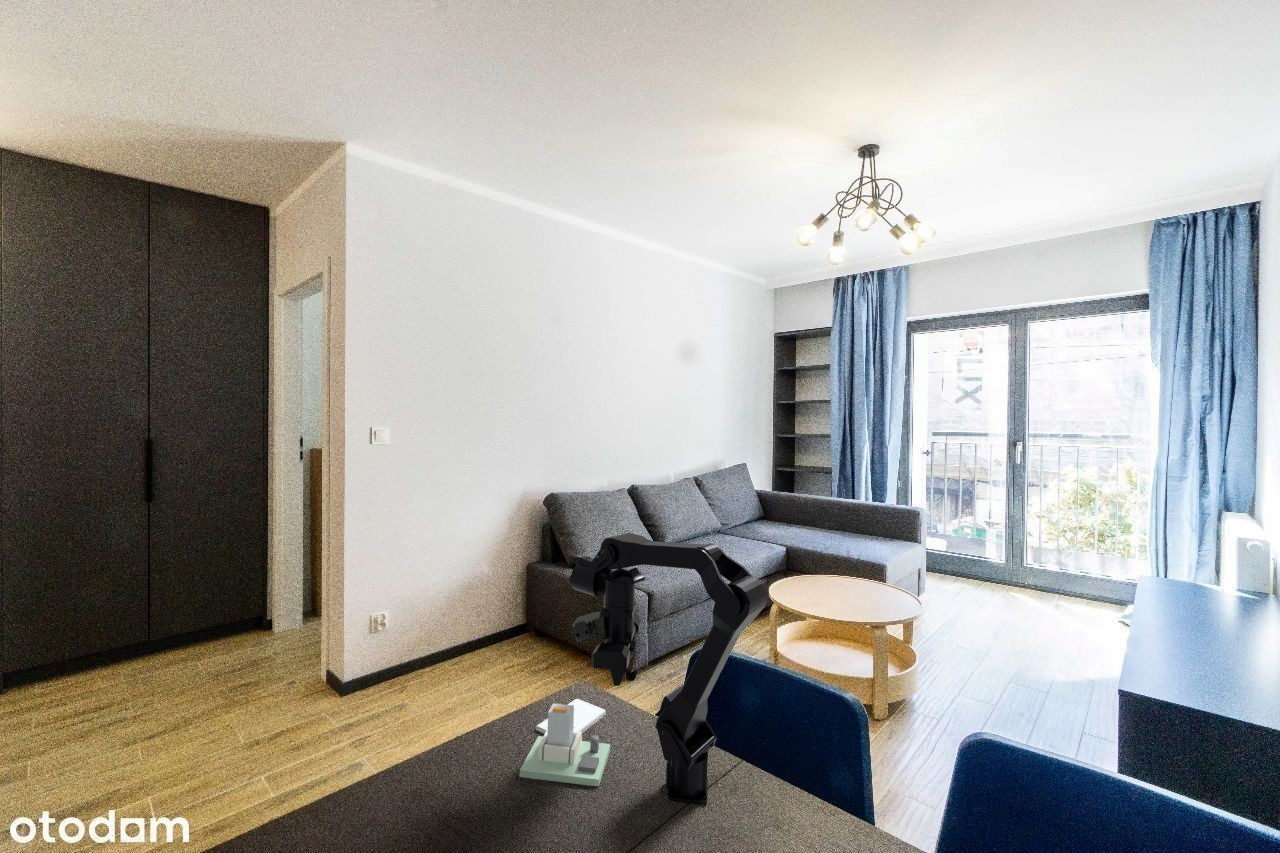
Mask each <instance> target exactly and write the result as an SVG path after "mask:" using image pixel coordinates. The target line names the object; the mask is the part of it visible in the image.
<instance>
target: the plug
mask: <svg viewBox="0 0 1280 853" xmlns="http://www.w3.org/2000/svg"><path fill="white" fill-rule="evenodd" d="M547 718H548V736H547V744H548V745H556V746H565V747H570V751H571V747H572V745H573V726H574V706H573V705H568V704H564V703H563V704H561V703H552V704H551V706H550V708H549V710H548V711H547ZM569 757H570V753H569Z"/></svg>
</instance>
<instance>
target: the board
mask: <svg viewBox="0 0 1280 853" xmlns="http://www.w3.org/2000/svg"><path fill="white" fill-rule="evenodd" d="M543 734H544V733H543ZM547 736H548V729H547V731H546V732H545V734H544V735H543V736H542V735H541V736H540V735H537V738H536V740H535V742H534V744H533V745H532V747H531V748H530V750H529V752H528V754H527V756H526V758H525V760H524V761H523V763H522V765H521V767H520V768H519V778H525V779H532V780H542V781H549V782H550V781H551V782H556V783H557V782H558V783H568V784H574V785H575V784H576V785H581V786H582V785H583V786H589V787H590V786H591V787H600V783H601V781H602V778H603V774H604V771H605V768H606V764H607V762H608V759H609V756H610V752H611V744H610V743H606V742H605V743H603V742H600V737H599V736H598V734H597V735H594V734H593V735H591V736H590V738H589V740H590V741H585V740H583V733H582V732H580V731H578V733H577V731H573V745H572V747H571V751H570V747H565V746H556V745H548V744H547ZM569 753H570V757H569Z"/></svg>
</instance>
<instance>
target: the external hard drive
mask: <svg viewBox="0 0 1280 853" xmlns="http://www.w3.org/2000/svg"><path fill="white" fill-rule="evenodd" d="M567 705H573V706H574V726H573V731H577V733H578V731H580V732H582V734H583V733H584V732H586V731H587V730H588V729H589V728H590V727H592V726H593V725H594V724H596V723H597V722H598V721H600V720H602V718H604V717H605V716H606V715H607V711H606V709H604V708H602V707H599V706H596V705H594V704H592V703H589V702H587V701H584V700H581V699H580V698H575V699H574V700H572V701H571V702H569V703H568V704H567ZM604 715H605V716H604ZM603 716H604V717H603ZM599 719H600V720H599ZM547 729H548V717H547V718H545V719H544V720H543V721H542V722H540V723H538V724H537V725H536V726H535V731H537V732H539V733H541V734H545V732H546V731H547Z"/></svg>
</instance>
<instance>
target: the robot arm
mask: <svg viewBox="0 0 1280 853" xmlns="http://www.w3.org/2000/svg"><path fill="white" fill-rule="evenodd" d="M642 565H644V566H645V565H646V566H656V567H665V568H676V569H687V570H695V571H696V573H697V574H698V575H699V578H700V579H701V581H702V584H703V587H704V589H705V591H706V593H707V595H708V596H709V597H710V599H712V600H713V602H714V605H713V608H712V610H711V612H712V627H711V629H710V630H709V633H708V634H707V636H706V639H705V641H704V643H703V644H702V647H701V649H700V652H699V653H698V655H697V658H696V659H695V661H694V663H693V666H692V668H691V669H690V672H689V673H688V676H687V677H686V680H685V681H684V683H682V684H680V685H679V686H678V687H676V688H675V689H673V690H672V691H671V692H669V693H668V694H667V695H665V696H664V697H663V699H662V702H661V705H660V708H659V710H658V711H657V712H656V713H654V716H655V717H657V718H656V721H655V729H656V730H657V734H658V739H659V740H658V741H659V743H660V747H661V751H662V756H663V759H664V760H665V761H666V764H665V765H666V767H665V768H666V772H665V773H666V774H665V787H666V789H668V790H667V799H668V800H670V801H678V802H687V803H693V804H694V803H696V804H703V805H705V804H708V796H709V795H708V794H709V793H708V792H709V785H708V784H709V777H708V766H709V750H710V749H711V748H713V747H714V746H715V744H716V742H717V738H718V736H717V735H716V733H715V731H714V730H713V728H712V727H711V725H710V724H709V722H708V720H707V719H706V718H707V715H708V712H709V711H708V699H709V696H710V694H711V692H712V691H713V688H714V687H715V685H716V682H717V681H718V679H719V676H720V675H721V672H722V670H724V667H725V665H726V663H727V661H728V658H730V655H731V653H732V652H733V649H734V646H735V645H736V643H737V642H738V639H739V638H740V635H741V634H742V633H743V631H744V630H746V629H747V627H748V626H749V625H751V623H752V622H753V621H754V620H755V619H756V618H757V616H758V615H759V614H760V613H761V611H762V610H763V609H764V608H765V606H766V605H767V603H768V599H769V598H768V597H769V596H768V593H767V589H766V587H765V586H764V583H763V582H761V581H760V580H759V579H758V578H756V577H754V576H753V575H752V574H751V573H750V572H749V571H748V569H746V567H745V566H743V565H742V564H740V563H739V562H738V561H736V560H735V559H733V558H732V557H730V556H729V555H728V554H726V552H725V551H724V550H723V549H722V548H721V547H720V546H719V545H717V544H715V543H706V544H705V543H692V542H691V543H687V542H673V541H672V542H671V541H670V542H669V541H654V540H651V539H648V538H646V537H645V536H642V535H639V534H637V533H632V532H626V533H621V534H617V535H614V536H609V537H606V538H604V539H603V541H602V542H601V543H600V548H599V551H598V552H597V553H596V555H595V556H594V557H593V558H592V557H591V556H589V555H583V556H579V557H578V558H577V564H576V565H575V566H574V567H573V569H572V570H571V574H570V576H569V584H570V586H571V588H572V589H573V590H574V591H577V592H581V593H584V594H586V595H587V594H588V595H591V596H594V597H598V598H600V597H602V596H603V608H602V609H600V611H595V612H591V613H588V614H584V615H581V616H579V617H577V618H576V619H575V620H574V622H573V623H572V625H571V628H572V629H571V630H572V632H571V636H572V637H573V638H575V639H576V642H577V643H581V642H584V640H588V639H591V638H594V637H597V636H598V640H602V641H604V642H600V643H599V644H598V645H596V646H595V648H594V650H593V652H592V654H591V661H590V662H591V664H590V666H591V667H592V668H594V669H603V670H609V671H610V675H611V679H612V684H613V686H614V687H620V685H622V684H621V683H622V681H623V679H624V676H625V673H626V672H627V669H628V667H629V664H630V661H631V660H632V657H633V654H634V651H635V647H636V645H637V642H636V641H635V640H633V638H634V636H635V634H636V635H639V634H640V632H641V629H642V628H641V627H642V620H641V619H640V617H639V616H638V615H636V614H635V613H636V609H637V604H636V603H635V601H636V600H635V597H636V596H635V592H636V584H639V583H641V582H644V581H645V580H646V577H645V576H644V574H643V573H642V572H641V571H639V569H638V567H636V566H642ZM630 567H631V568H630ZM632 567H633V568H632ZM626 568H630V569H626ZM722 577H723V578H722ZM724 578H725V579H726V580H727V581H729V583H727V582H726V581H725V580H724Z"/></svg>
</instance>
